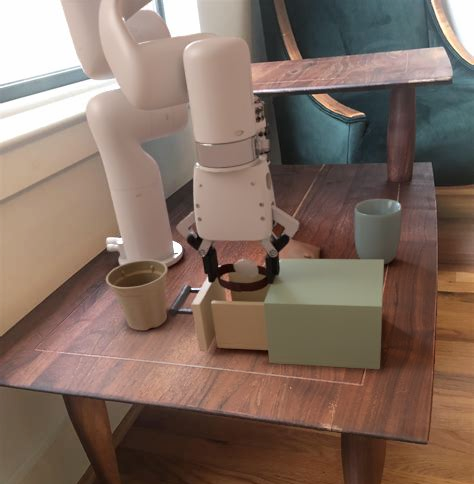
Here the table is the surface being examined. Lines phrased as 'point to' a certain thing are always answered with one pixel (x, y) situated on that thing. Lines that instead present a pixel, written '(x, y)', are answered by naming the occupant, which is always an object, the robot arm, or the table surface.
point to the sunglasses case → (299, 251)
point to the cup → (377, 229)
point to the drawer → (226, 314)
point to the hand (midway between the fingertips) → (242, 277)
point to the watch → (244, 269)
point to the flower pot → (141, 292)
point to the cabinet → (326, 313)
